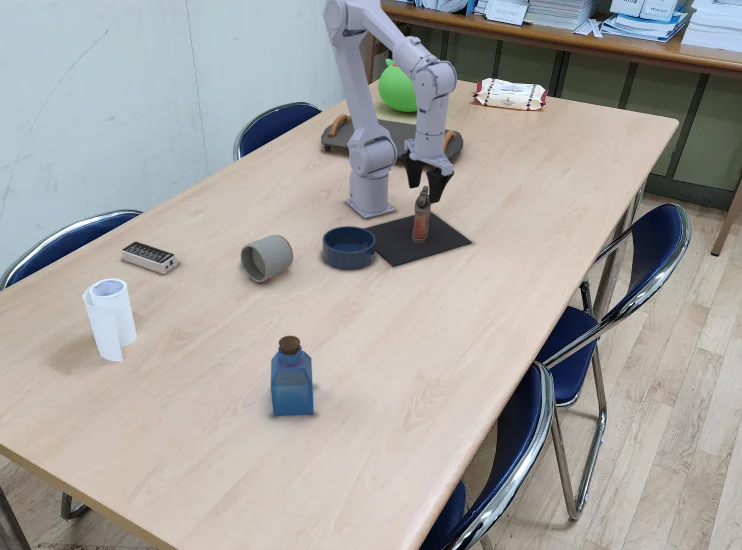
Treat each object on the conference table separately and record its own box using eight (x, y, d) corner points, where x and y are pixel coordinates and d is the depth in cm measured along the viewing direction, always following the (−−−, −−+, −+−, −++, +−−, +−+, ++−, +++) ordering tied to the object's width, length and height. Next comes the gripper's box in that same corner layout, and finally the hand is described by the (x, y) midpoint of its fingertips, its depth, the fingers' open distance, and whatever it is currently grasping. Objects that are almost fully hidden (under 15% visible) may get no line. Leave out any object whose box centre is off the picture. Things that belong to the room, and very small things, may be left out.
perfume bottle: (274, 388, 103) (268, 330, 95) (312, 387, 104) (310, 328, 96) (273, 416, 99) (267, 356, 91) (313, 414, 99) (311, 355, 91)
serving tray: (469, 143, 180) (472, 120, 176) (449, 176, 164) (451, 152, 160) (341, 123, 190) (341, 101, 186) (310, 152, 174) (309, 129, 170)
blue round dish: (314, 250, 136) (313, 233, 133) (358, 238, 140) (358, 221, 137) (338, 275, 129) (338, 257, 126) (384, 261, 133) (385, 244, 130)
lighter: (425, 244, 138) (429, 201, 131) (409, 242, 138) (413, 199, 131) (430, 226, 143) (434, 184, 137) (415, 224, 144) (419, 182, 137)
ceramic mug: (297, 271, 129) (295, 237, 124) (267, 288, 125) (264, 253, 120) (261, 253, 135) (257, 220, 129) (231, 269, 130) (226, 235, 125)
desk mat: (354, 232, 142) (354, 230, 141) (429, 212, 149) (429, 210, 149) (393, 266, 131) (393, 265, 131) (471, 243, 139) (471, 241, 139)
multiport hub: (137, 250, 134) (135, 240, 133) (178, 264, 131) (176, 254, 129) (122, 260, 132) (120, 250, 130) (164, 274, 128) (161, 264, 126)
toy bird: (374, 116, 194) (376, 65, 184) (381, 98, 206) (383, 48, 197) (433, 121, 192) (438, 69, 182) (437, 102, 204) (442, 52, 195)
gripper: (393, 121, 129) (389, 184, 138) (434, 147, 120) (427, 213, 129) (422, 115, 132) (417, 178, 141) (465, 140, 122) (456, 205, 131)
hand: (424, 194), depth 135 cm, fingers open, 7 cm apart
